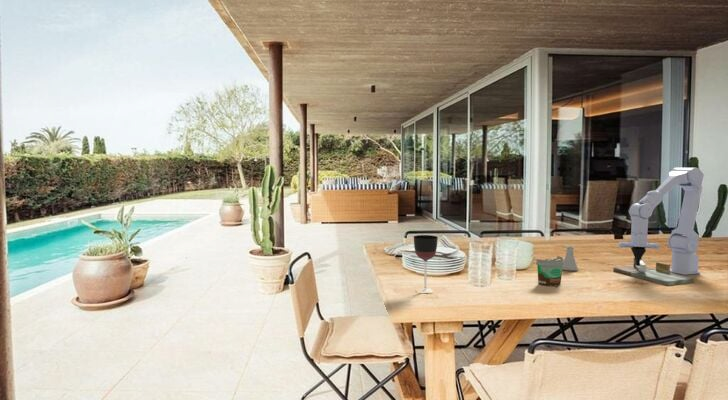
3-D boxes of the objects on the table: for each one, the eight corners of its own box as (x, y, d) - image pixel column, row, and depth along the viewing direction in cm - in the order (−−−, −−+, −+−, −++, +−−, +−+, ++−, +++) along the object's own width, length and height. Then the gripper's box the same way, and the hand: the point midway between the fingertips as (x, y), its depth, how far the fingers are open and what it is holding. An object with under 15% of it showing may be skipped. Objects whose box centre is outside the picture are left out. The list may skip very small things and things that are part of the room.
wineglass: (432, 295, 158) (432, 239, 156) (409, 292, 162) (409, 237, 161) (440, 290, 164) (441, 236, 163) (419, 286, 169) (419, 234, 167)
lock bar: (632, 265, 195) (633, 257, 195) (640, 265, 194) (641, 257, 193) (638, 272, 182) (639, 264, 182) (647, 273, 181) (647, 264, 181)
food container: (548, 288, 166) (549, 262, 165) (535, 284, 171) (536, 259, 170) (571, 284, 171) (572, 258, 170) (557, 280, 177) (558, 255, 176)
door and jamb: (638, 268, 196) (638, 257, 195) (693, 282, 173) (694, 269, 173) (613, 271, 192) (613, 259, 191) (666, 285, 169) (667, 272, 168)
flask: (580, 271, 191) (581, 248, 190) (562, 271, 193) (563, 248, 192) (576, 267, 198) (576, 245, 198) (558, 267, 200) (559, 245, 199)
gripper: (622, 233, 182) (620, 266, 183) (663, 234, 178) (661, 268, 179) (617, 230, 189) (615, 262, 190) (656, 232, 185) (654, 264, 186)
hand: (637, 265), depth 185 cm, fingers closed, pressing on lock bar
